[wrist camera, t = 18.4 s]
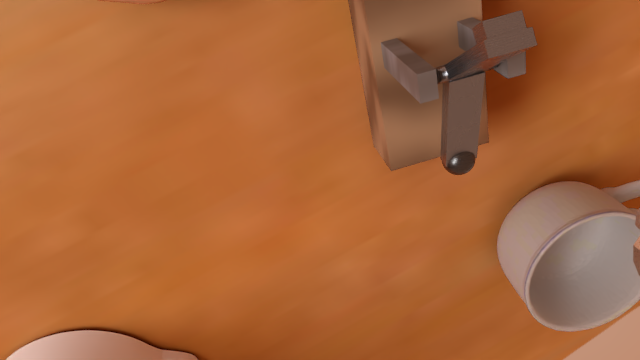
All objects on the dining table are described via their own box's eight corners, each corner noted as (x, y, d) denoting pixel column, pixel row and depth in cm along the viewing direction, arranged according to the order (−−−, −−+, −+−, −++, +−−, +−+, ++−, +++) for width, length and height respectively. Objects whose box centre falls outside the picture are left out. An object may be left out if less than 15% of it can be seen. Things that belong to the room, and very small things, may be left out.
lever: (452, 59, 35) (482, 166, 35) (401, 74, 35) (431, 181, 35) (540, 4, 24) (583, 163, 24) (465, 25, 23) (509, 186, 23)
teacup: (504, 289, 51) (554, 355, 44) (460, 210, 45) (509, 271, 39) (640, 209, 50) (713, 263, 43) (612, 117, 44) (691, 163, 37)
